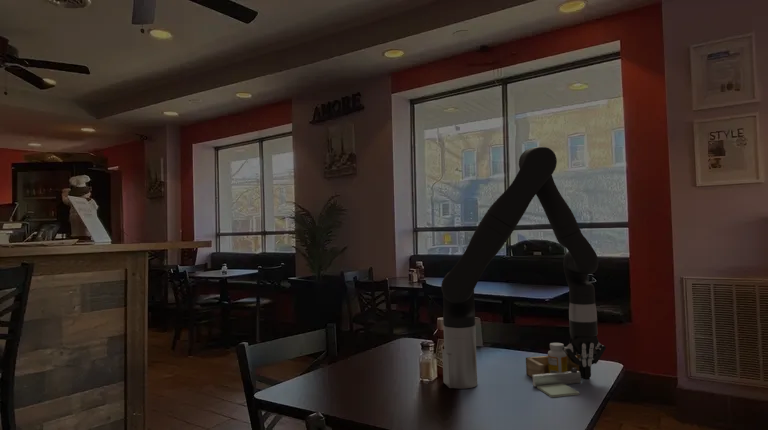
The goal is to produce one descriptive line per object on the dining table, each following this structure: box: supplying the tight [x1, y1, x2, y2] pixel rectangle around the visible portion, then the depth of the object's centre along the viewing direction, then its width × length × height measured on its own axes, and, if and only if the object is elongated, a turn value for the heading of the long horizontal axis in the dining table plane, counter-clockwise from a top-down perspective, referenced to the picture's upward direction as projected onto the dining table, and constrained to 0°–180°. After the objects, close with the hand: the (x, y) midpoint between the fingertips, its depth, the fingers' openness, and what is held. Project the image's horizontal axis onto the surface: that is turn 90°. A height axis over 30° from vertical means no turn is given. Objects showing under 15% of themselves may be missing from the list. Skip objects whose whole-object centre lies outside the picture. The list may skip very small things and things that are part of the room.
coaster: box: [536, 384, 580, 398], centre depth 141 cm, size 8×8×1 cm
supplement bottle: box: [547, 342, 568, 373], centre depth 155 cm, size 5×5×10 cm
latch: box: [532, 368, 582, 388], centre depth 147 cm, size 14×2×4 cm, turn 100°
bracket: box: [525, 354, 579, 379], centre depth 155 cm, size 15×9×5 cm, turn 100°
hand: (585, 378), depth 149 cm, fingers closed
